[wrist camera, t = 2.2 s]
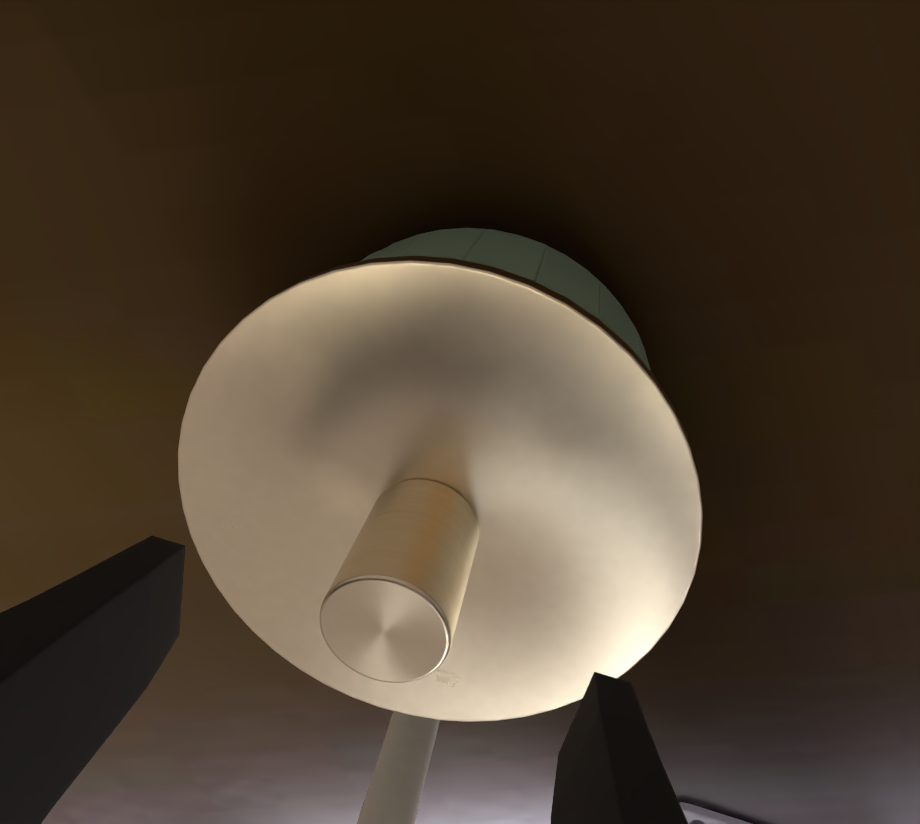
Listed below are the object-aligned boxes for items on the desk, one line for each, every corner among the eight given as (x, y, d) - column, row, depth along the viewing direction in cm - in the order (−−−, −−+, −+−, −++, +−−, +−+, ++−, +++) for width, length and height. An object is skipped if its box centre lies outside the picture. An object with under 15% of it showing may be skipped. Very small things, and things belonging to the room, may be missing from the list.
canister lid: (788, 339, 14) (870, 443, 10) (599, 741, 19) (600, 921, 15) (220, 183, 14) (71, 219, 10) (188, 612, 19) (79, 750, 15)
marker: (451, 684, 26) (397, 909, 19) (441, 718, 27) (384, 947, 20) (404, 669, 26) (331, 887, 19) (394, 703, 27) (322, 926, 20)
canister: (711, 286, 19) (758, 366, 13) (588, 591, 23) (587, 742, 18) (330, 182, 19) (227, 218, 14) (284, 500, 24) (194, 619, 19)
